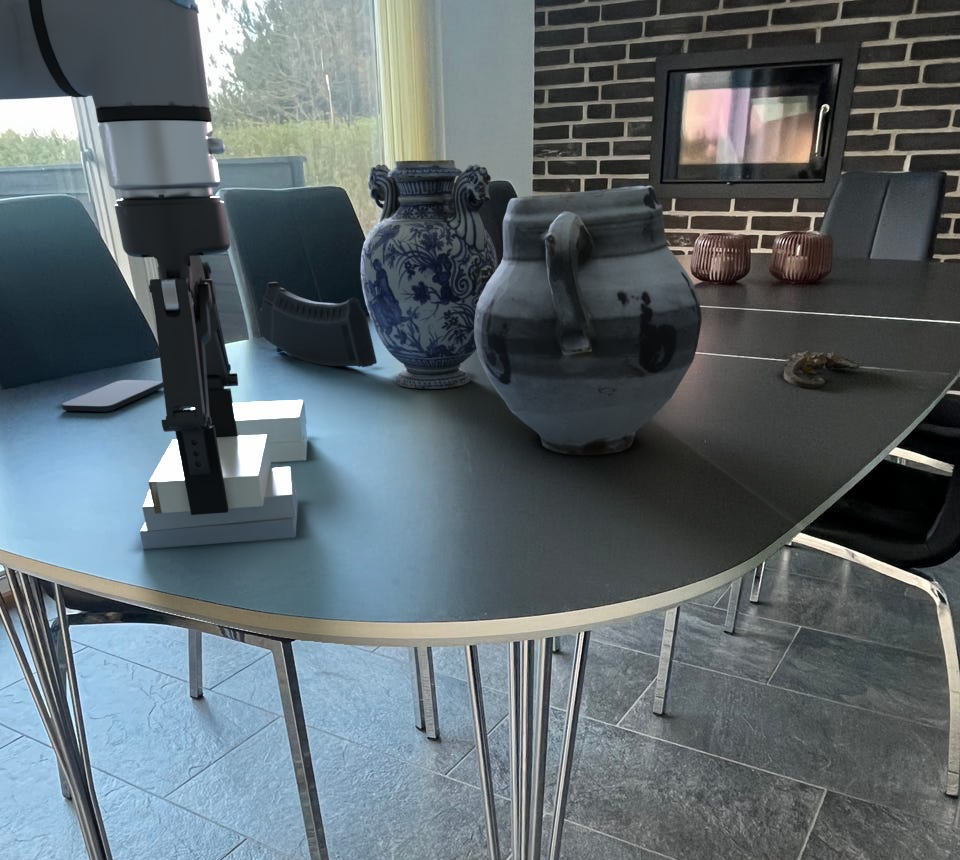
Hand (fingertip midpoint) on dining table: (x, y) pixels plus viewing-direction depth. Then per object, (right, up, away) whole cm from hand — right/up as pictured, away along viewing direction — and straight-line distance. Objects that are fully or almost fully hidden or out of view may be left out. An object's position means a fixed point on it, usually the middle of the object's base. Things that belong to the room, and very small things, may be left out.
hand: (218, 486), depth 72 cm
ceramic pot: (+33, +8, +22) cm, 40 cm away
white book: (0, 0, 0) cm, 0 cm away
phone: (-28, +20, +47) cm, 59 cm away
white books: (-3, +7, +21) cm, 22 cm away
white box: (0, -3, +2) cm, 4 cm away
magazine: (-5, +33, +69) cm, 76 cm away
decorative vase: (+15, +24, +53) cm, 60 cm away
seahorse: (+70, +25, +51) cm, 90 cm away
